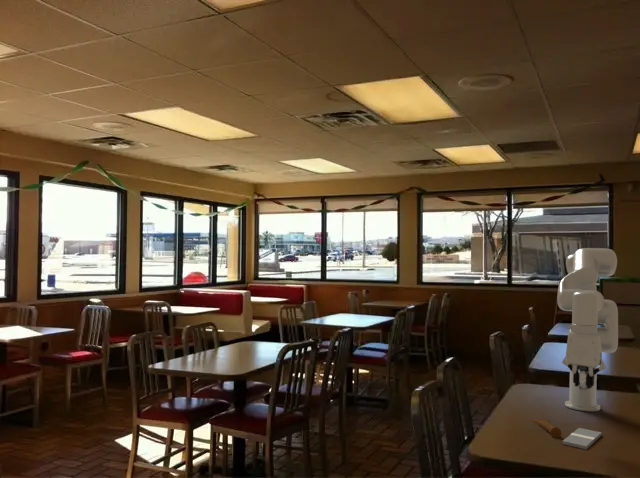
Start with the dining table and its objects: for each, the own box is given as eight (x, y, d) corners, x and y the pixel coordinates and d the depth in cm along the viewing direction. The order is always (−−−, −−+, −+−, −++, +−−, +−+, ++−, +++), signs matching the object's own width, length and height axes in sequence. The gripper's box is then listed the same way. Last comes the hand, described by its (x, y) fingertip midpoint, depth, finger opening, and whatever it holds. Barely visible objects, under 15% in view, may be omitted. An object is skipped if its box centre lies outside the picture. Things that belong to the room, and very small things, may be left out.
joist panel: (579, 430, 194) (579, 427, 194) (601, 435, 190) (601, 432, 190) (562, 444, 180) (562, 440, 180) (586, 449, 176) (586, 445, 176)
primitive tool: (530, 420, 206) (531, 410, 206) (546, 421, 206) (546, 411, 206) (550, 438, 187) (551, 428, 187) (567, 439, 187) (568, 428, 187)
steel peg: (579, 386, 187) (580, 362, 188) (590, 388, 185) (590, 363, 186) (576, 388, 185) (577, 363, 185) (587, 390, 183) (587, 365, 183)
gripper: (554, 328, 188) (553, 384, 188) (609, 334, 177) (608, 393, 177) (561, 326, 194) (560, 380, 193) (615, 331, 183) (614, 389, 183)
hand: (583, 386), depth 185 cm, fingers closed on steel peg, 3 cm apart
